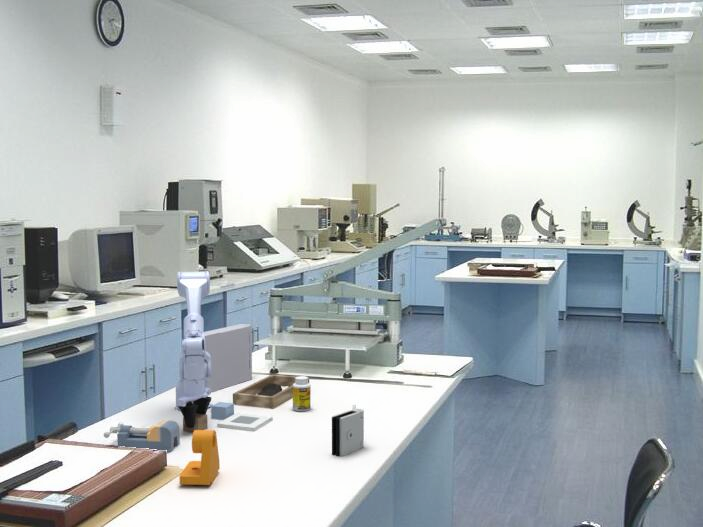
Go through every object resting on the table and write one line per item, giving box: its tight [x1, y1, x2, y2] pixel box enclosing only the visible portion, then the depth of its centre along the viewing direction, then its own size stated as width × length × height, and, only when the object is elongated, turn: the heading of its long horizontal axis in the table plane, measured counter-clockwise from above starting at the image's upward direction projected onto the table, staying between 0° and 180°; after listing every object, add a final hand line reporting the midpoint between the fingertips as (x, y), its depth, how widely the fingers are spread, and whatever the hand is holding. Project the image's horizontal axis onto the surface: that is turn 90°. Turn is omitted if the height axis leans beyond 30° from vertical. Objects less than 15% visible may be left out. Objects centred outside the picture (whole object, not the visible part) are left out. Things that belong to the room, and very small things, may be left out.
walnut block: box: [182, 413, 208, 433], centre depth 231 cm, size 5×5×4 cm
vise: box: [103, 419, 181, 454], centre depth 216 cm, size 18×10×7 cm, turn 82°
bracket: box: [179, 429, 221, 486], centre depth 191 cm, size 11×7×12 cm, turn 177°
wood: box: [257, 383, 283, 396], centre depth 269 cm, size 22×8×3 cm, turn 173°
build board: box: [216, 412, 274, 432], centre depth 237 cm, size 12×12×1 cm
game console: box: [204, 323, 253, 393], centre depth 282 cm, size 6×27×20 cm, turn 148°
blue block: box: [210, 401, 235, 421], centre depth 244 cm, size 5×5×4 cm
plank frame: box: [232, 374, 310, 409], centre depth 269 cm, size 14×28×4 cm, turn 159°
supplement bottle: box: [292, 375, 311, 412], centre depth 252 cm, size 6×6×10 cm
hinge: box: [331, 404, 365, 457], centre depth 214 cm, size 14×5×10 cm, turn 153°
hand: (195, 424), depth 231 cm, fingers closed on walnut block, 5 cm apart
